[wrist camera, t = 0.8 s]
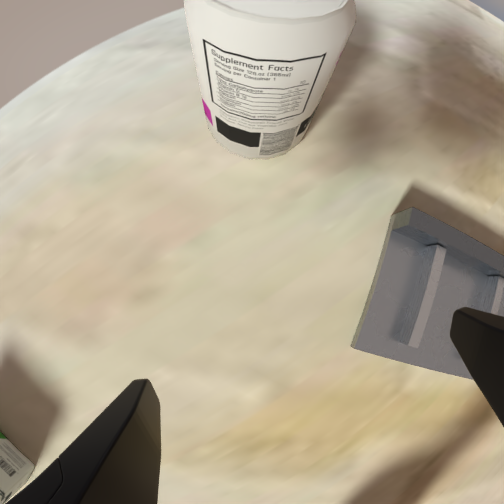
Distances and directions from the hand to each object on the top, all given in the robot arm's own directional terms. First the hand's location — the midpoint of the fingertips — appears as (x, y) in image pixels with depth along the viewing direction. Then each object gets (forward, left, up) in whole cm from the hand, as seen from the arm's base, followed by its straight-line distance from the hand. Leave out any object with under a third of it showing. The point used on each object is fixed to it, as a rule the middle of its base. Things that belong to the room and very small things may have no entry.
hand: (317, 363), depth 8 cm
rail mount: (+1, -16, -16) cm, 22 cm away
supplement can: (+15, +2, -16) cm, 22 cm away
